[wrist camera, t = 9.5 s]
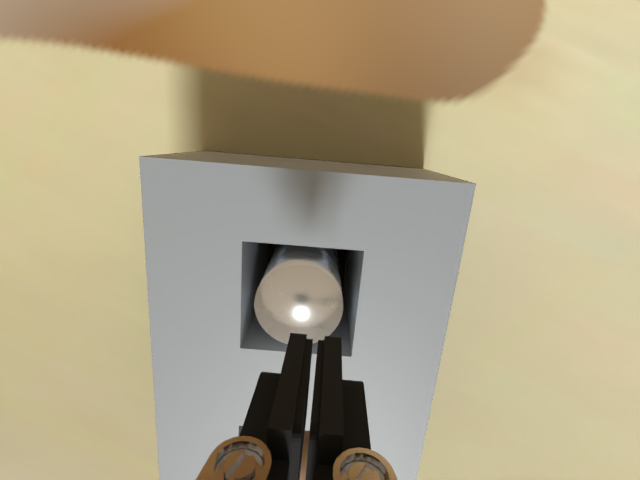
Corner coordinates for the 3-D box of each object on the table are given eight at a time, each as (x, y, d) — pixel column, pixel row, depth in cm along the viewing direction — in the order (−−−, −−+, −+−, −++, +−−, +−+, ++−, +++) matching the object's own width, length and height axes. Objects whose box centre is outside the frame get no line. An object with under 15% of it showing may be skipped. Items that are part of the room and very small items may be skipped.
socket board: (423, 168, 22) (476, 184, 14) (380, 443, 28) (400, 557, 21) (203, 150, 22) (139, 156, 14) (207, 431, 28) (163, 540, 20)
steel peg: (339, 225, 23) (347, 268, 15) (334, 281, 24) (338, 348, 16) (278, 220, 23) (255, 261, 15) (276, 277, 24) (252, 342, 16)
